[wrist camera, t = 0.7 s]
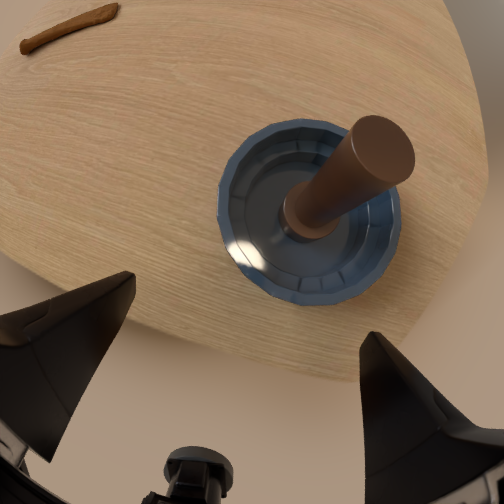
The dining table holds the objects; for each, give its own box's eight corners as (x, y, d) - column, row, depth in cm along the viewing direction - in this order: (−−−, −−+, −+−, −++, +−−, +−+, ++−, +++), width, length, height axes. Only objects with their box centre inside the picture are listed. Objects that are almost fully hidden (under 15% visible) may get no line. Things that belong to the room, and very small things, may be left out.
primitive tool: (119, 3, 24) (113, -11, 21) (113, 19, 24) (106, 5, 21) (29, 47, 24) (21, 38, 20) (20, 66, 23) (11, 57, 20)
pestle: (329, 243, 22) (437, 210, 8) (278, 242, 22) (334, 199, 8) (328, 193, 23) (419, 111, 9) (278, 190, 22) (323, 89, 9)
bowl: (373, 296, 23) (402, 301, 18) (220, 297, 22) (214, 305, 17) (367, 154, 24) (390, 132, 19) (225, 143, 23) (222, 114, 18)
